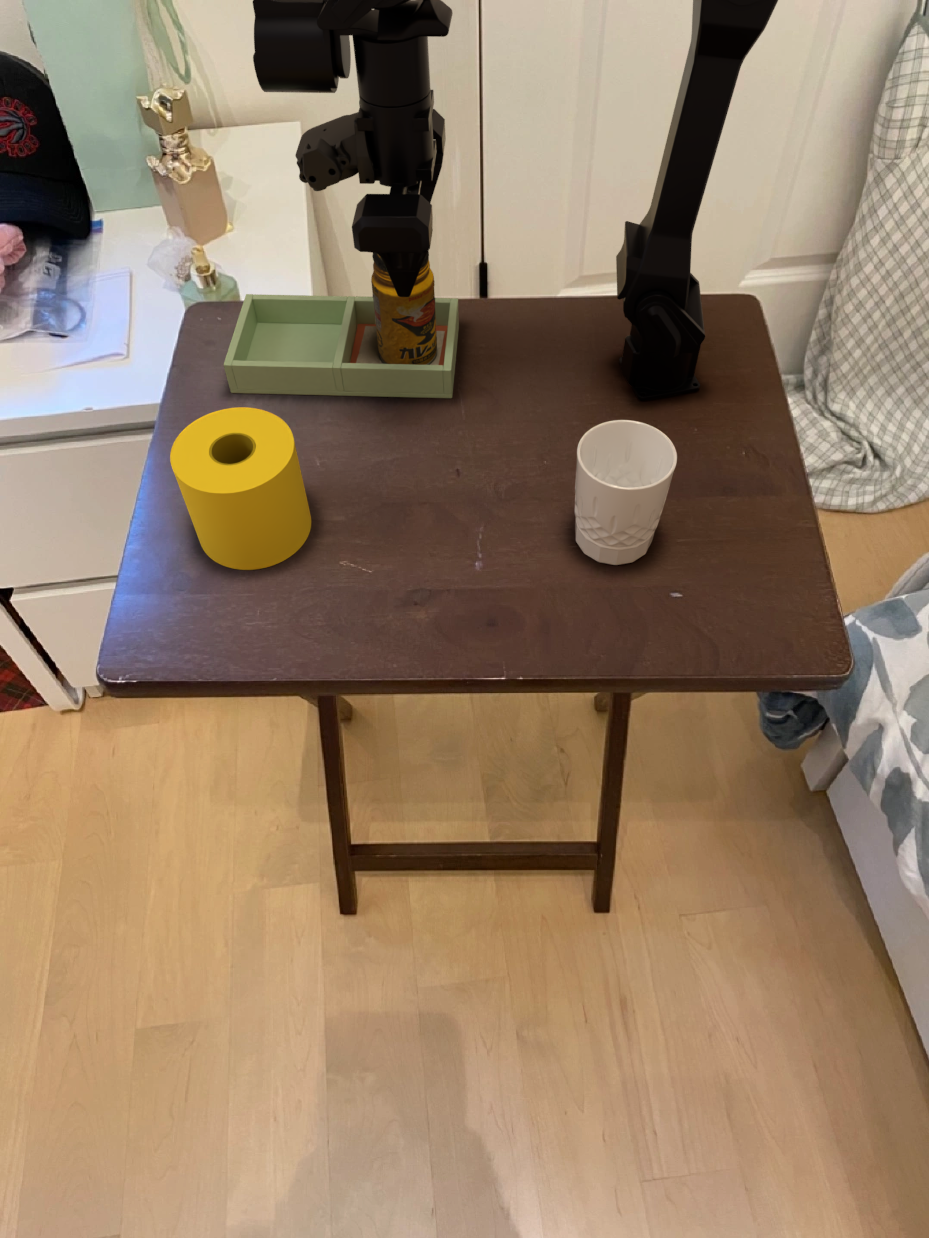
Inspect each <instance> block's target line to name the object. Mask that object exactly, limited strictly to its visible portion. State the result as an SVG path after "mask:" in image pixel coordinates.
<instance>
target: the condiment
mask: <svg viewBox="0 0 929 1238" xmlns="http://www.w3.org/2000/svg"><path fill="white" fill-rule="evenodd" d="M372 261H373V264H372V268H373V269H372V275H371V279H370V280H371V281H370V282H371V290H372V291H371V292H372V297H373V301H374V310H375V320H376V322H375V324H376V326H365V330H364V335H363V339H362V343H361V347H360V350H359V354H358V358H357V361H356V363H368V364H412V365H439V360H440V355H441V350H442V344H443V338H444V333H445V331H436V311H435V298H436V297H435V274H434V272H433V270H432V268H431V262H430V250H429V251H428V252H427V254H426V257H425V259H424V261H423V264H422V266H421V269H420V271H419V274H418V277H417V279H416V282H415V285H414V287H413V290H412V292H411V295H410V296H409V297H399V296H398V295H397V293H396V290H395V288H394V286H393V284H392V281H391V279H390V277H389V274H388V272H387V270H386V267H385V265H384V263H383V261H382V259H381V257H380V256H379V255H378V254H377V253H372Z"/></svg>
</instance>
